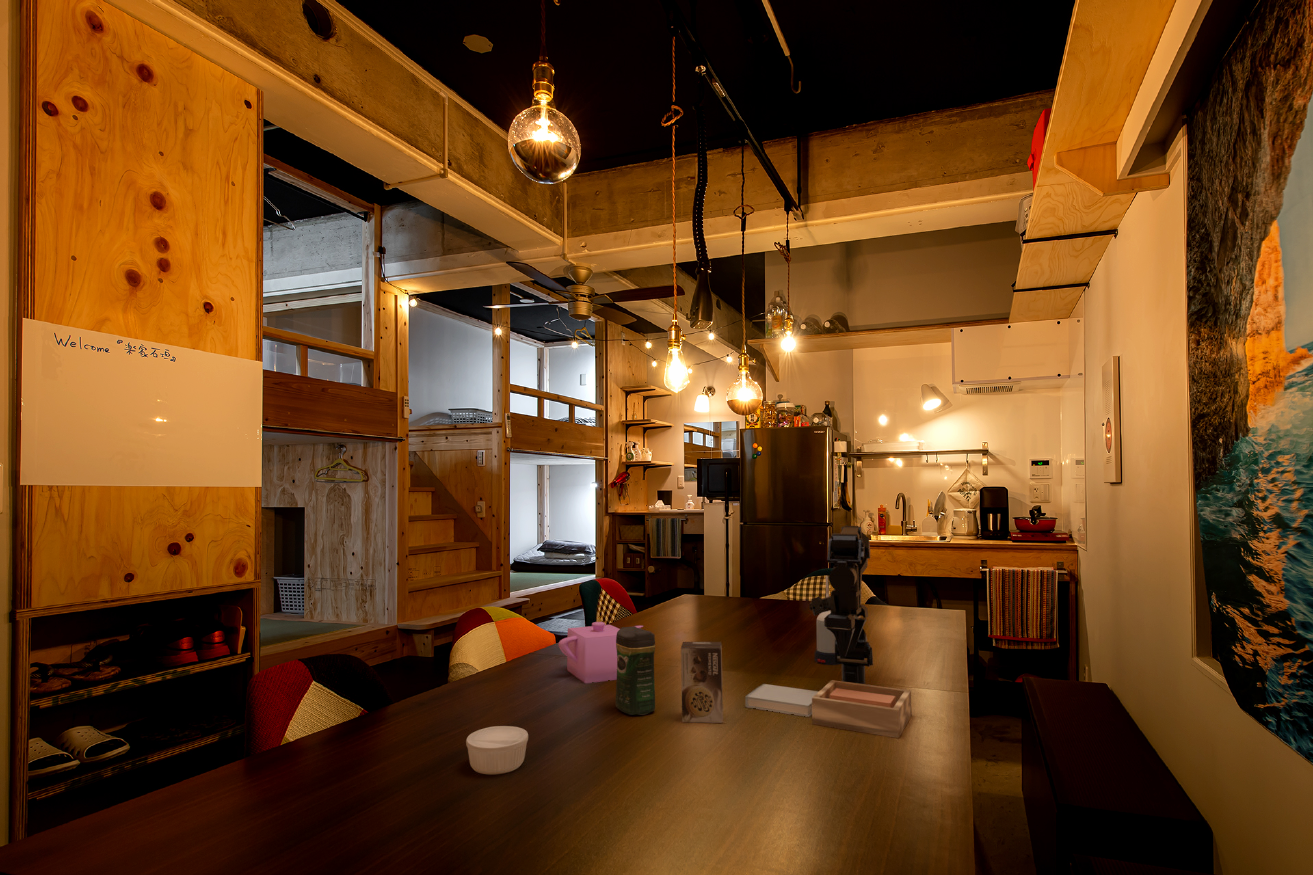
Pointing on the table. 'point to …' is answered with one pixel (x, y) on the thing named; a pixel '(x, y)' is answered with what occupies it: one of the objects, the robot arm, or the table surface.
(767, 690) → the book pile base
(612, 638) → the teapot
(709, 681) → the coffee box
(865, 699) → the terracotta rectangular block
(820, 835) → the table surface
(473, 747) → the ramekin
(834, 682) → the shelf tray
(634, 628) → the coffee jar
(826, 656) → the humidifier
